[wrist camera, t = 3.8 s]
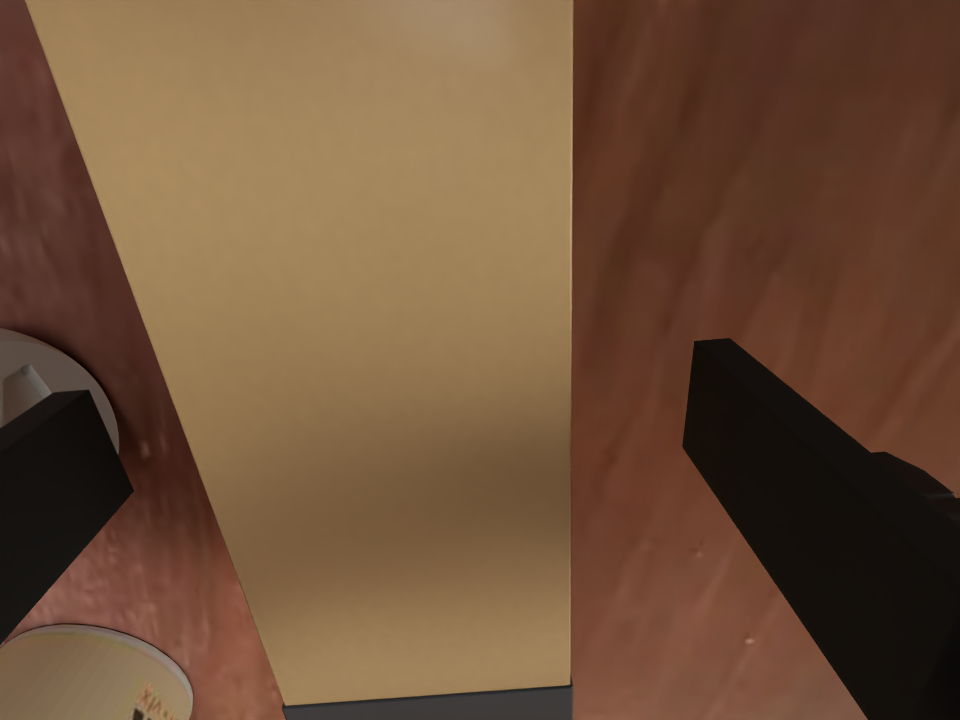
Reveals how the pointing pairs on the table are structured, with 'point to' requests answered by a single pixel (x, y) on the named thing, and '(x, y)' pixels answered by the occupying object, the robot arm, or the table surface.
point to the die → (43, 379)
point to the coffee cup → (89, 677)
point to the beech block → (357, 321)
